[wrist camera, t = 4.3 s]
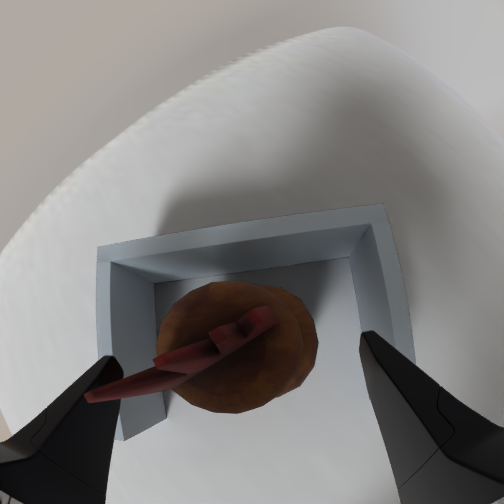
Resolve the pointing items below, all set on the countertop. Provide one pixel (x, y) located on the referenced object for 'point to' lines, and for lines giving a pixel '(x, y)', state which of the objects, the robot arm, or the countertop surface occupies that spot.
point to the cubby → (240, 260)
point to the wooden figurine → (227, 349)
